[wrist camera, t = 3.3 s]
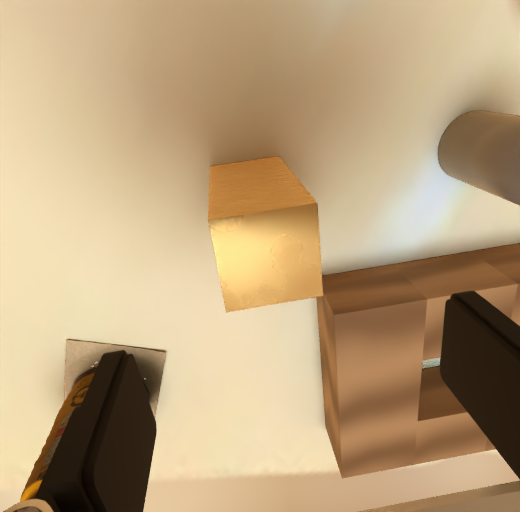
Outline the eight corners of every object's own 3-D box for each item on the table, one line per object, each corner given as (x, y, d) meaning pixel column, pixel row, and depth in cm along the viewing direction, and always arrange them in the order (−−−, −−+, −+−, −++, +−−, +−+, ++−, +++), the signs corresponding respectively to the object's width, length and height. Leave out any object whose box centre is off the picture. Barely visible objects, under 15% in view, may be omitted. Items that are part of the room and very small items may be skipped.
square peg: (210, 166, 24) (208, 220, 15) (278, 156, 24) (317, 202, 15) (221, 230, 26) (226, 312, 17) (285, 220, 26) (323, 295, 17)
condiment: (63, 420, 32) (-15, 599, 21) (67, 338, 28) (-23, 499, 17) (153, 427, 33) (124, 597, 22) (166, 349, 30) (140, 505, 19)
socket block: (315, 277, 28) (334, 315, 24) (545, 239, 29) (606, 268, 25) (325, 427, 35) (342, 478, 31) (511, 392, 36) (554, 437, 32)
